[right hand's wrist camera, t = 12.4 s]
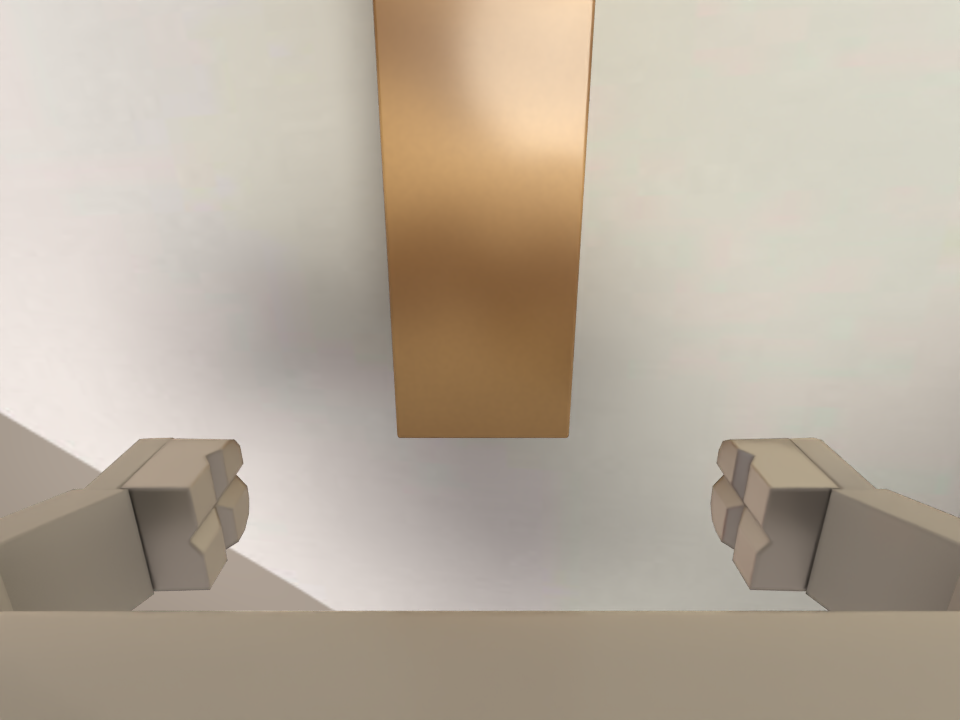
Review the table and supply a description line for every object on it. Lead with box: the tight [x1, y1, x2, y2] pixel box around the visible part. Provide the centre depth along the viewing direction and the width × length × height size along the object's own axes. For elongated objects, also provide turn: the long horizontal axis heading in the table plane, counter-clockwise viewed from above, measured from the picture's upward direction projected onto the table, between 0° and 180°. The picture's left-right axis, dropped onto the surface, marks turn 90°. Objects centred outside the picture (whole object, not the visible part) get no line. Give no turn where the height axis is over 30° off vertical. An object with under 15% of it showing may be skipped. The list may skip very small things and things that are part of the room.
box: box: [373, 0, 595, 438], centre depth 22 cm, size 24×6×12 cm, turn 0°
